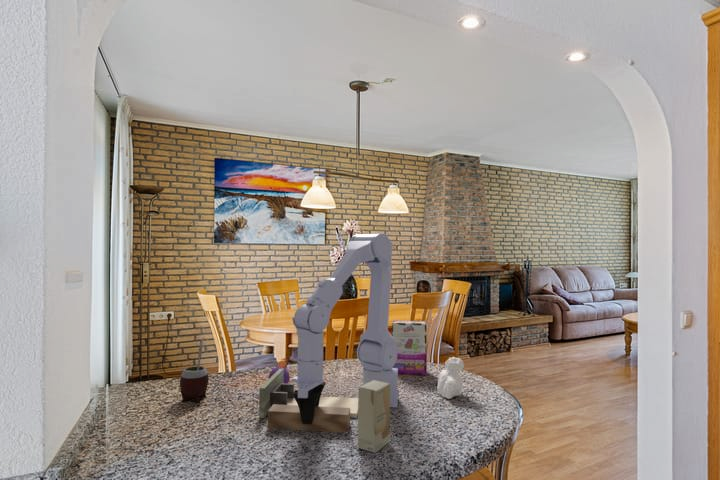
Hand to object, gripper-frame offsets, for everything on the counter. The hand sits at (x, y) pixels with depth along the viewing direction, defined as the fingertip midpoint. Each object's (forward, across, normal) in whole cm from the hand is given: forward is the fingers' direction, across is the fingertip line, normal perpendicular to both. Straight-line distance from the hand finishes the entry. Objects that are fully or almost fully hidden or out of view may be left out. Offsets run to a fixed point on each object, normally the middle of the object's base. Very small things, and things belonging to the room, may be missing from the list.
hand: (309, 419), depth 94 cm
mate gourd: (+2, -13, -34) cm, 36 cm away
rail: (+2, 0, 0) cm, 2 cm away
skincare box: (+2, +7, +15) cm, 17 cm away
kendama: (+2, -31, -16) cm, 35 cm away
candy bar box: (+2, -44, +23) cm, 50 cm away
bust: (+2, -25, +34) cm, 42 cm away
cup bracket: (+2, -11, -1) cm, 11 cm away
